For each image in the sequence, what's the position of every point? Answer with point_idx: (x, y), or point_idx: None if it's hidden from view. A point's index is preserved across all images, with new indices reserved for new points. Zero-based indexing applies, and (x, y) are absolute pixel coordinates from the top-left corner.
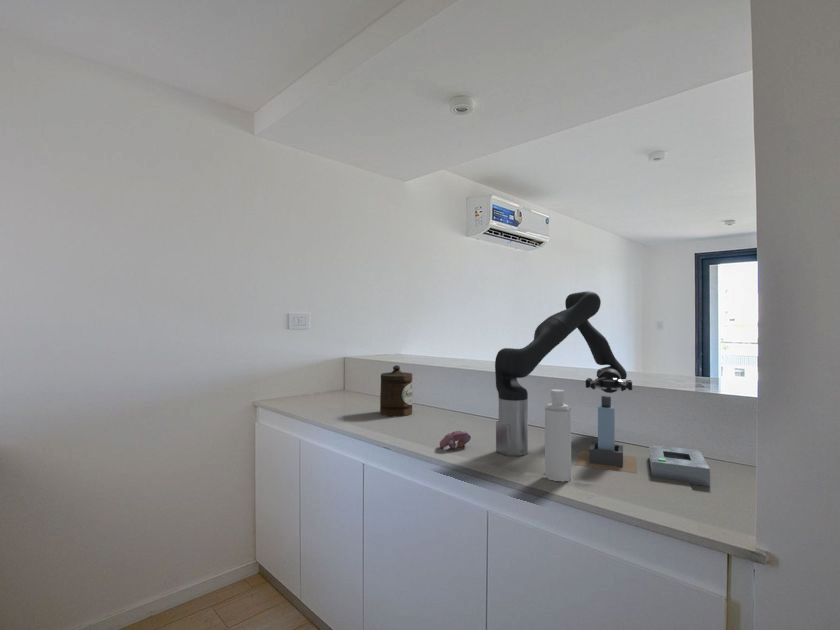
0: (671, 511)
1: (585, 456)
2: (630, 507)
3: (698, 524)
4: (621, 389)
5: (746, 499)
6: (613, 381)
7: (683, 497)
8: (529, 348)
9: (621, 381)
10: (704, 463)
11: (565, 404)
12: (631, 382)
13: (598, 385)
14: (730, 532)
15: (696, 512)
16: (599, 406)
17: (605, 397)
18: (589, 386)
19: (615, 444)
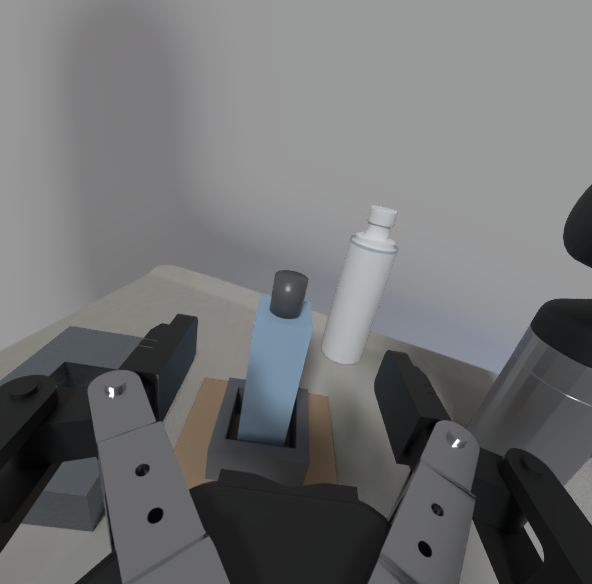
0: (203, 296)
1: (316, 466)
2: (247, 299)
3: (188, 282)
4: (194, 345)
5: (55, 324)
6: (218, 487)
7: (164, 320)
8: None
9: (117, 433)
10: (48, 348)
11: (365, 238)
12: (21, 378)
13: (393, 507)
14: (164, 275)
15: (174, 295)
16: (307, 311)
17: (293, 272)
18: (479, 520)
19: (232, 451)
